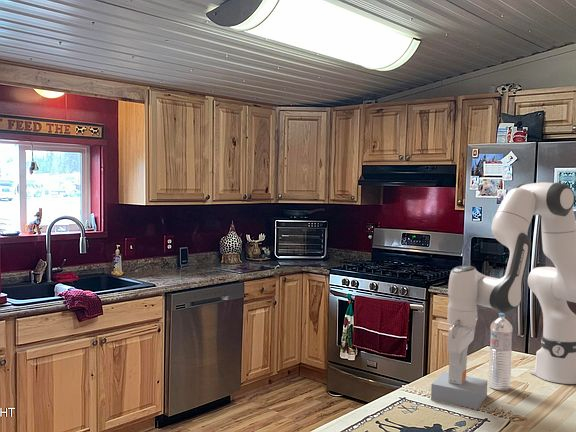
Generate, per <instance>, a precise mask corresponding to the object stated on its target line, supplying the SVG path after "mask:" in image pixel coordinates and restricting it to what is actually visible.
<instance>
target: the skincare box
mask: <svg viewBox="0 0 576 432" xmlns="http://www.w3.org/2000/svg"><path fill="white" fill-rule="evenodd" d="M448 356H449V358H448V359H449V361H448V362H449V363H448V373H449V379H448V382H449V383H454V384H459V385H462V383H463V382H464V381H465V380H466V376H467V367H468V366H467V365H468V364H467V363H468V362H467V361H468V350H467V347H466V348H465V349H464V350H462V351H461V354H460V356H461V363H460V364H459V365H457V364H454V356H453V353H449V355H448Z"/></svg>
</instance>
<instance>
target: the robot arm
mask: <svg viewBox="0 0 576 432" xmlns="http://www.w3.org/2000/svg"><path fill="white" fill-rule="evenodd" d="M575 198H576V197H575V193H574V190H573V189H572V188H571V186H570V185H568V184H567V183H563V182H545V181H543V182H533V183H532V182H531V183H522V184H520V183H519V184H517V185H516V186H513V188H512V189H510V190H509V191H507V193H506V194H505V196H504V197H503V199H502V201H501V202H500V203H499V206H498V209H497V210H496V212H495V215H494V217H493V219H492V222H491V228H490V229H491V233H492V236H493V237H494V239H495V240H496V241H498V242H499V243H500V244H501V245H503V246H504V247H506V248H508V250H509V258H508V260H507V266H506V269H505V273H504V275H503V277H501V278H498V277H492V276H489V275H485V274H483V273H481V272H479V271H478V270H477V269H476V267H475V266H472V265H459V266H456V267H454V268H452V269H451V271H450V272H449V273H450V274H449V279H448V290H447V295H448V303H447V315H446V316H447V317H446V318H447V321H446V322H447V323H448V324H450V327H449V329H448V333H447V345H446V350H447V352H448V353H449V354H450V353H453V356H454V364H457V365H459V364H460V363H461V356H460V354H461V351H462V350H464V349H465V348H466V347H467V351H468V348H469V346H470V344H471V343H472V342H473V341H474V339H475V333H476V325H477V321H478V319H479V314H478V308H477V307H478V305H479V306H482V307H485V308H489V309H493V310H495V311H498V312H499V313H504V314H508V313H511V312H513V311H515V310H516V309H517V308H518V307H519V306H520V305H521V302H522V299H523V287H524V282H525V276H526V272H527V267H528V263H529V259H530V255H531V254H530V253H531V247H532V242H531V239H530V237H529V234H528V233H529V228H530V224H531V222H532V219H533V216H540V217H541V219H540V221H541V222H540V224H541V225H540V226H541V227H540V228H541V231H540V232H541V244H542V245H541V246H542V251H543V254H544V256H546V257H547V259H549V260H551V262H552V264H553V265H554V267H553V266H538V267H534V268H533V269H532V270H530V272H529V273H528V277H527V285H528V287H529V289H530V291H531V292H533V294H534V295H535V297H536V298H537V299H538V302H539V303H538V304H539V305H540V309H541V312H542V318H543V319H542V321H543V325H542V326H543V327H542V328H543V330H542V336H541V339H540V343H541V344H540V345H541V347H540V348H539V349H538V350H536V353H535V366H534V367H532V368H531V369H529V374H531V375H534V376H537V377H538V378H540V379H542V380H544V381H548V382H551V383H557V384H563V385H564V384H565V385H576V313H574V312H573V311H572V310H571V309H570V307H569V305H568V302H571V303H576V216H575V212H574V208H573V207H574V205H575Z"/></svg>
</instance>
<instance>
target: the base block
mask: <svg viewBox="0 0 576 432" xmlns="http://www.w3.org/2000/svg"><path fill="white" fill-rule="evenodd" d="M448 379H449V372H447V371H446V372H445V371H443V372H442V373H441V374H440V375H439V376H438V377H437V378H435V380H434V381H433V382H432V383H431V388H430V393H431V394H430V400H432V401H435V402H436V401H437V402H439V403H445V404H450V405H455V406H459V407H463V408H469V409H472V410H473V409H474V410H478V409H480V406H481V405H482V403H483V402H484V401H485V399H486V398H487V396H488V379H484V378H479V377H473V376H467V375H466V380H465V381H464V382H463V383H462V385H459V384H454V383H449V382H448Z"/></svg>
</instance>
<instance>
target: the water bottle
mask: <svg viewBox="0 0 576 432" xmlns="http://www.w3.org/2000/svg"><path fill="white" fill-rule="evenodd" d="M505 317H506V313H503V312H499V313H498V318H496V319H495V320H493V321H492V323H491V324H490V343H489V344H490V346H489V355H488V356H489V359H488V360H489V362H488V366H489V367H488V387H489V388H490V389H493V390H495V391H503V392H504V391H509V390H510V389H511V378H512V377H511V375H512V355H513V354H512V351H513V350H512V343H513V342H512V341H513V339H512V338H513V337H512V336H513V325H512V324H511V322H510V321H509V320H508V319H506V318H505Z"/></svg>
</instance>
